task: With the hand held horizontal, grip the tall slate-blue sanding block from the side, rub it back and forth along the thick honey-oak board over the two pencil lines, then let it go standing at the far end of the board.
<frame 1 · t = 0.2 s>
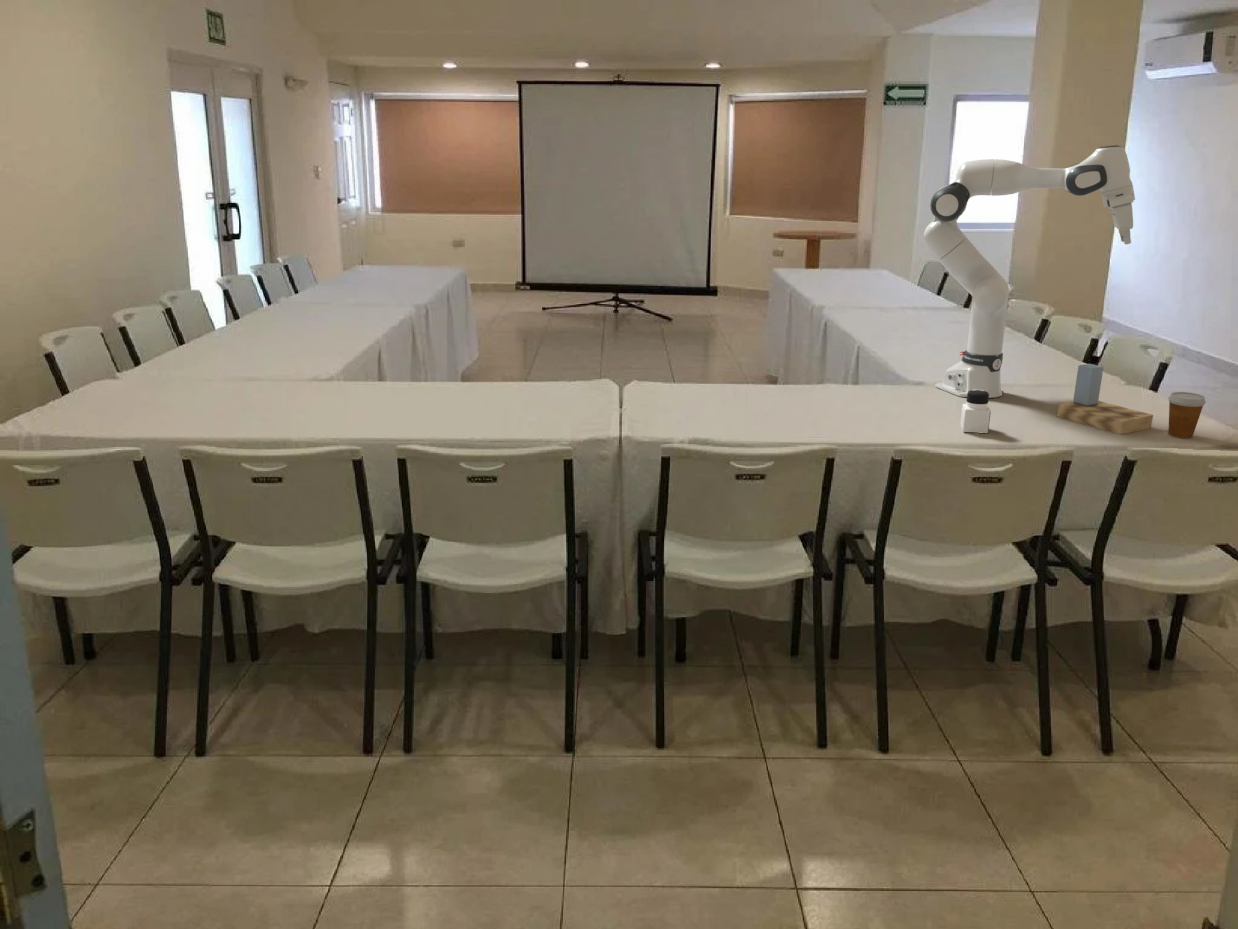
hand: (1126, 242, 312), 51 cm above the table, tool tilted 15°, fingers open, 8 cm apart
disposable coffee cup: (1180, 436, 295), on the table
medicine bottle: (973, 430, 300), on the table
board: (1103, 422, 308), on the table
sanding block: (1085, 404, 313), point 4 cm above the table, touching board
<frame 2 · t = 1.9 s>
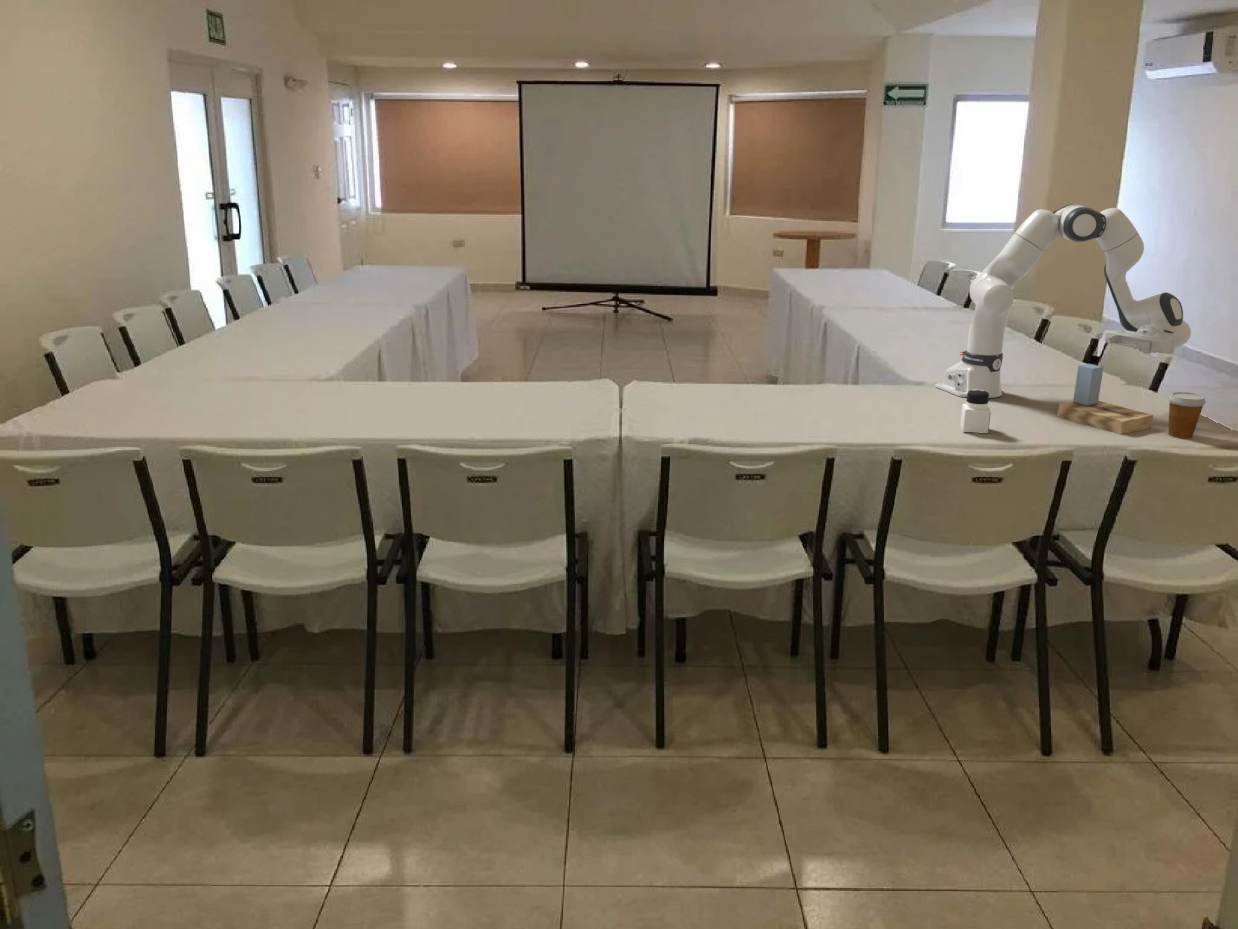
hand: (1121, 343, 313), 22 cm above the table, tool horizontal, fingers open, 8 cm apart
nothing on the table moved.
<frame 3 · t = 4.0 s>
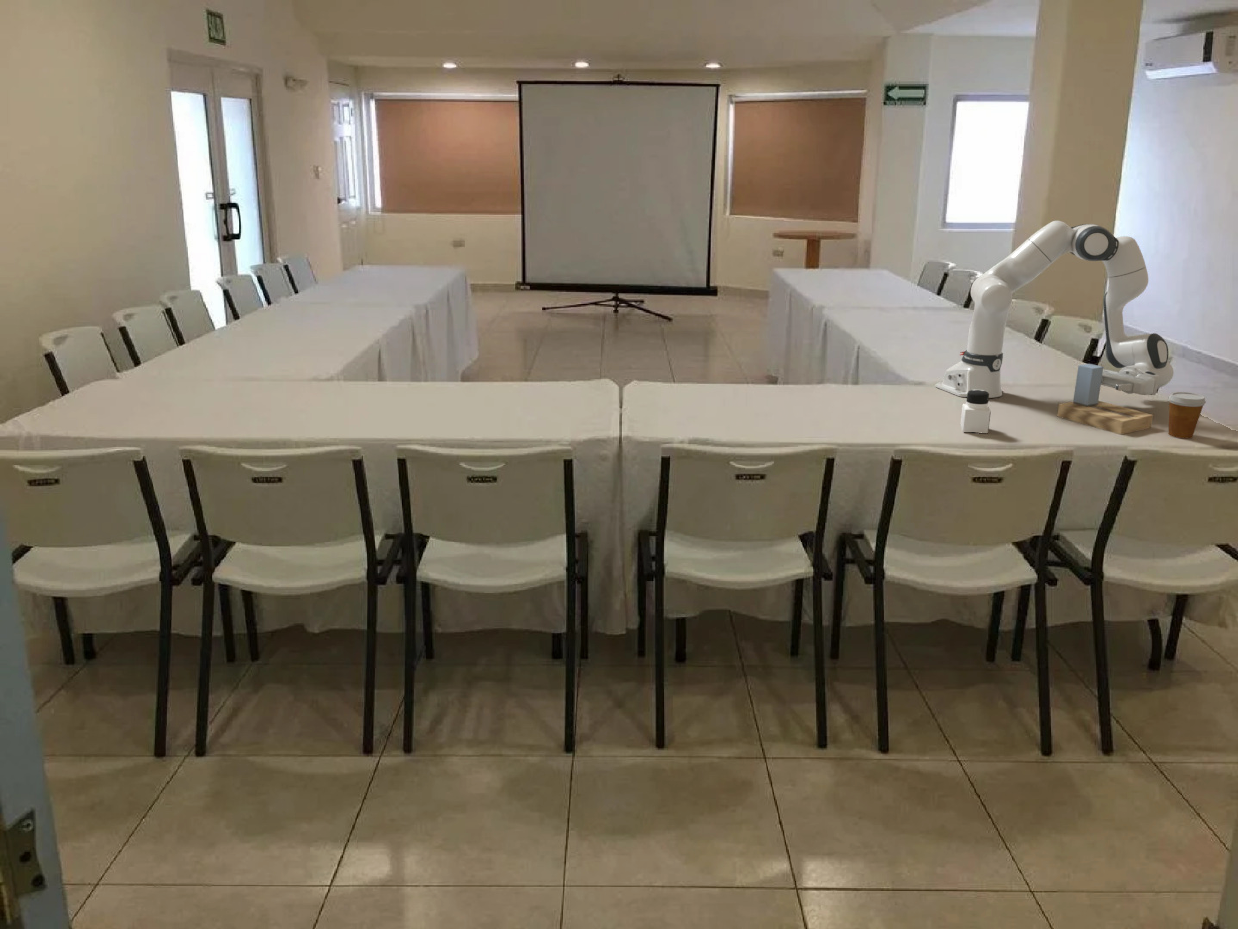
hand: (1104, 384, 315), 9 cm above the table, tool horizontal, fingers open, 8 cm apart
nothing on the table moved.
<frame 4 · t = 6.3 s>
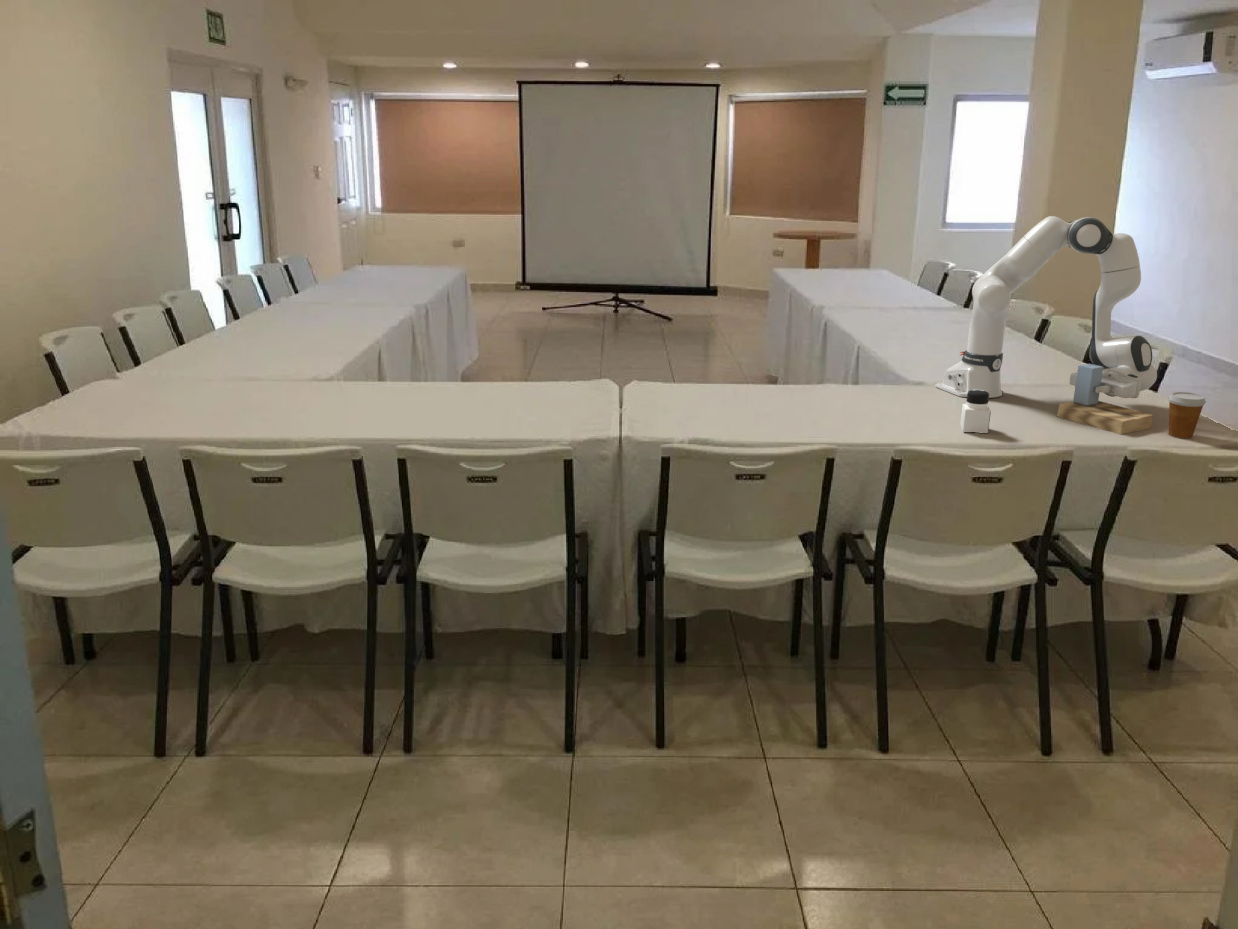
hand: (1085, 387, 310), 9 cm above the table, tool horizontal, fingers closed on sanding block, 5 cm apart
sanding block: (1085, 404, 313), point 4 cm above the table, touching board, gripper
everything else where it was.
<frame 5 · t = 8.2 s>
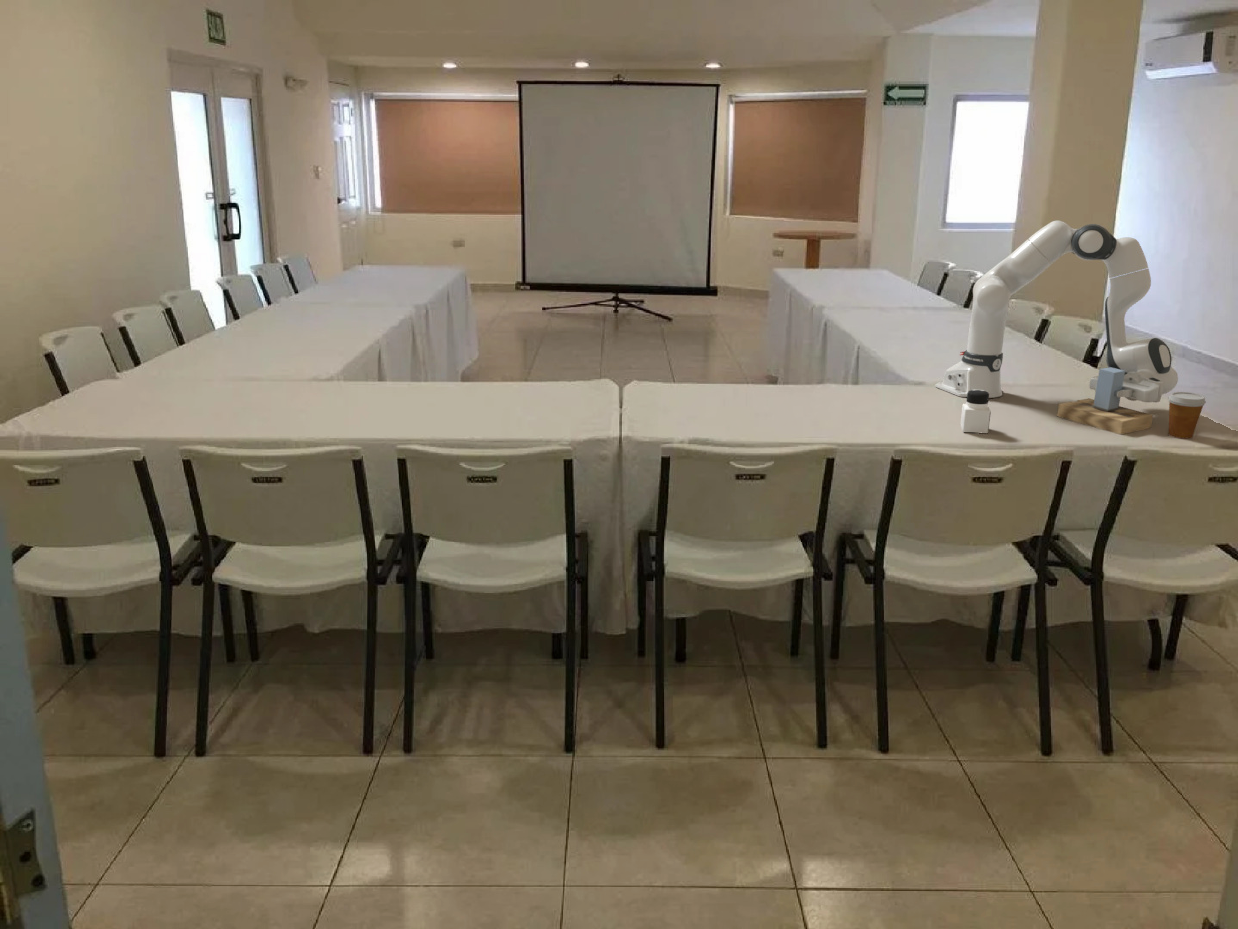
hand: (1106, 391, 305), 10 cm above the table, tool horizontal, fingers closed on sanding block, 5 cm apart
sanding block: (1105, 408, 307), point 4 cm above the table, touching gripper
everything else where it was.
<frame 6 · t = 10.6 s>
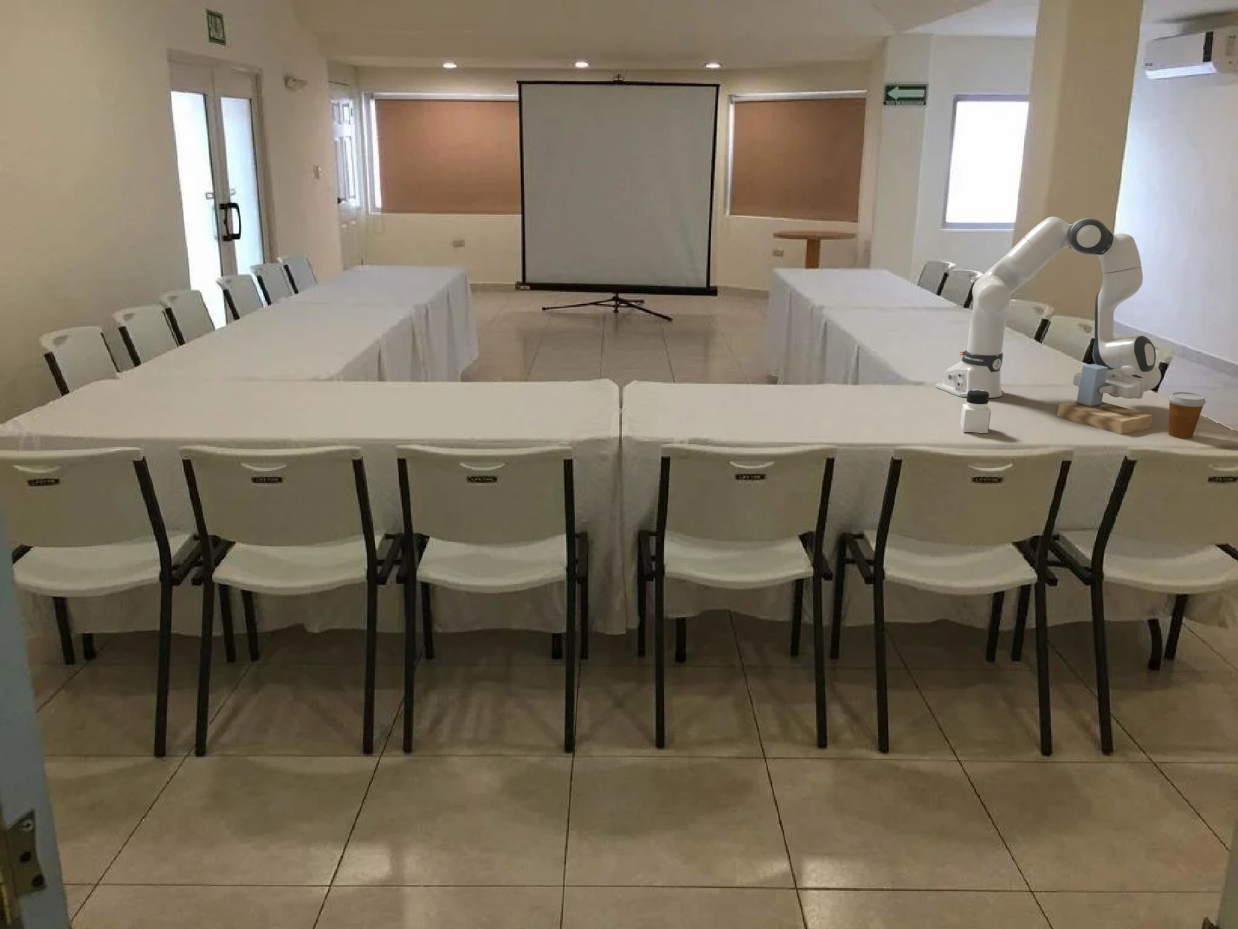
hand: (1089, 387, 309), 10 cm above the table, tool horizontal, fingers closed on sanding block, 5 cm apart
sanding block: (1088, 404, 311), point 4 cm above the table, touching gripper
everything else where it was.
when the fingers open (9 cm above the table, at t = 13.9 s): sanding block stays where it is, resting on board.
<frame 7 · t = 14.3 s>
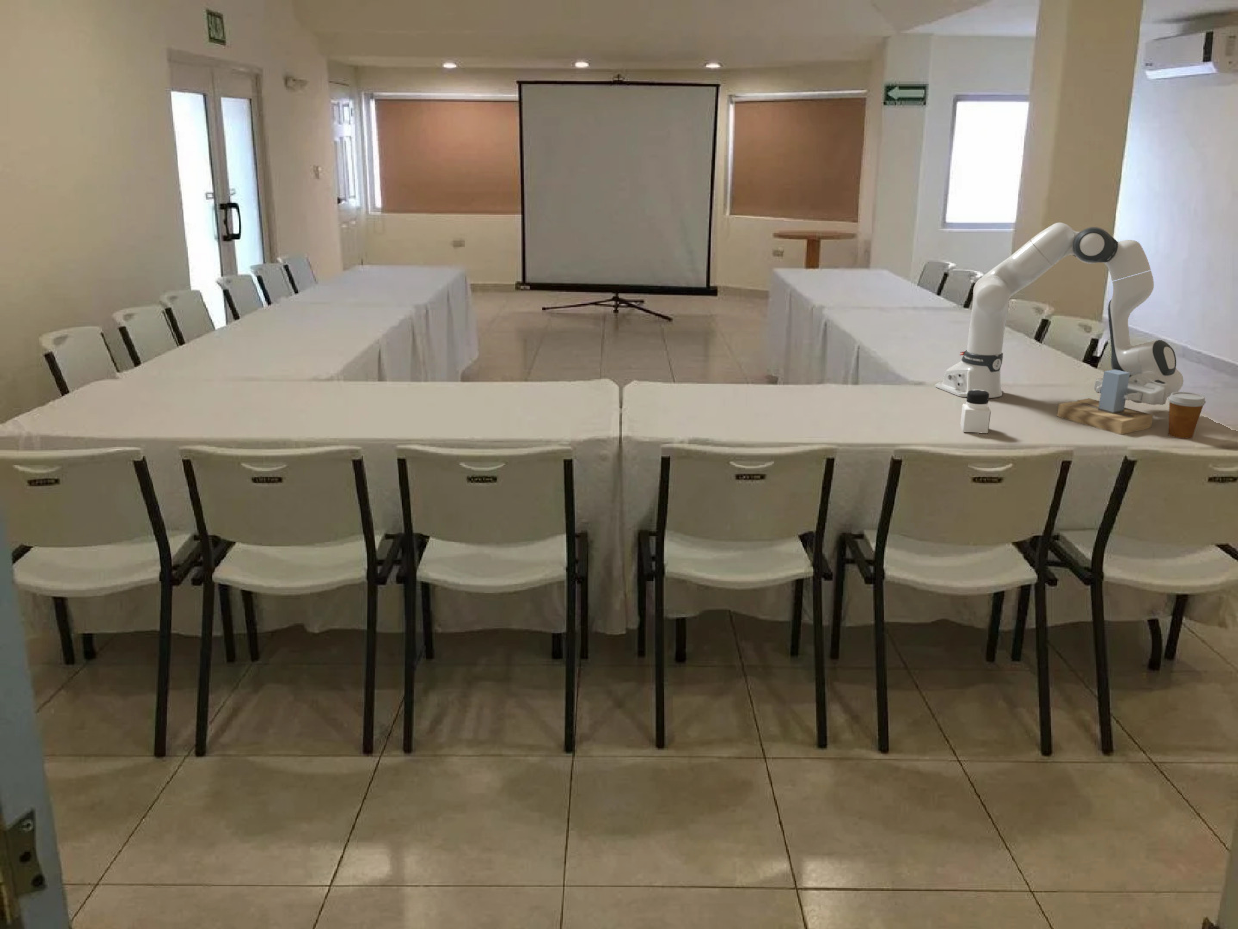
hand: (1111, 393, 303), 9 cm above the table, tool horizontal, fingers open, 8 cm apart
sanding block: (1110, 410, 305), point 4 cm above the table, touching board
everything else where it was.
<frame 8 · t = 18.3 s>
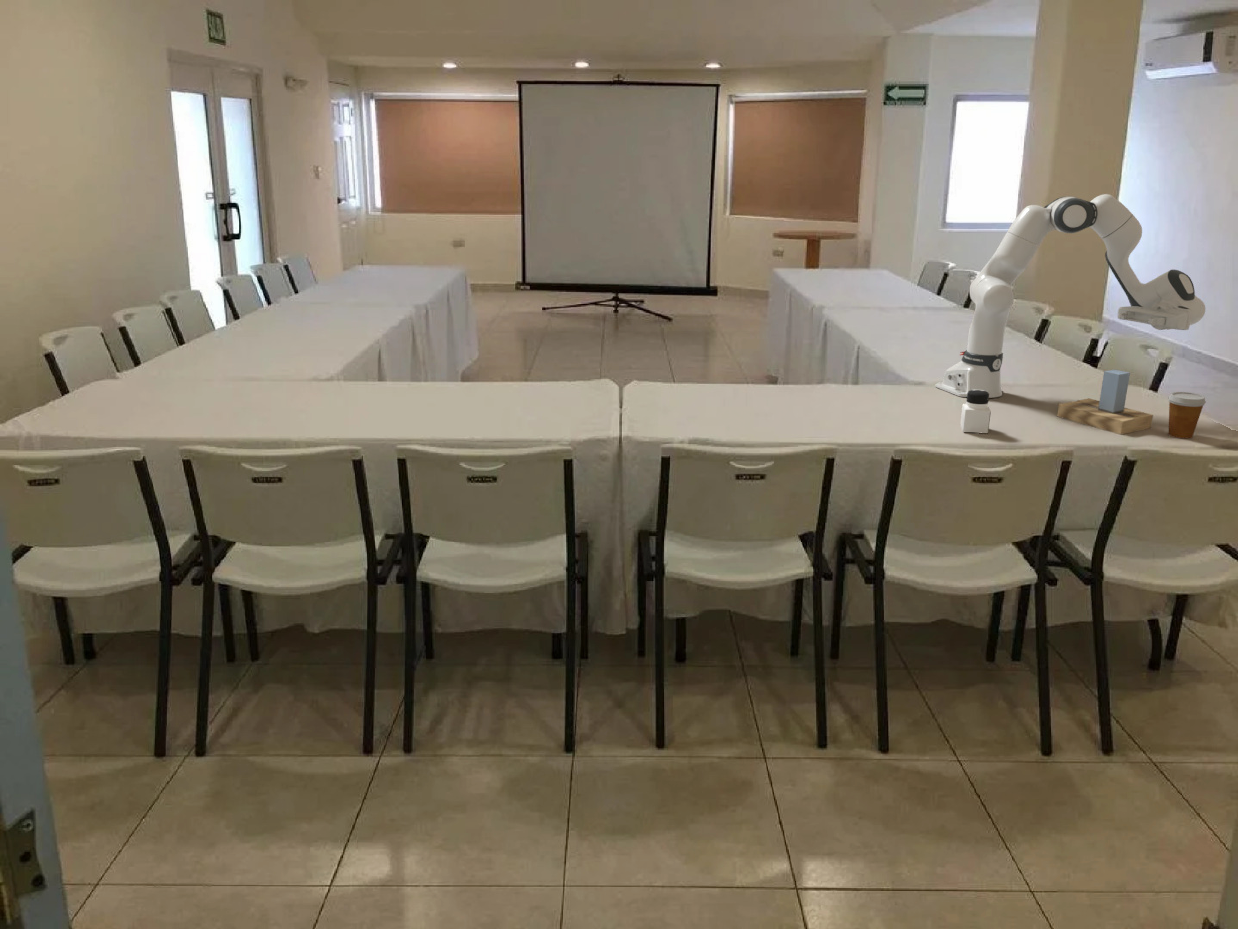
hand: (1135, 319, 307), 30 cm above the table, tool horizontal, fingers open, 8 cm apart
nothing on the table moved.
at the end: sanding block inside the target area (0.6 cm from its centre), point 4.0 cm above the table; sanding block tilted 0°; the gripper is holding nothing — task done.
